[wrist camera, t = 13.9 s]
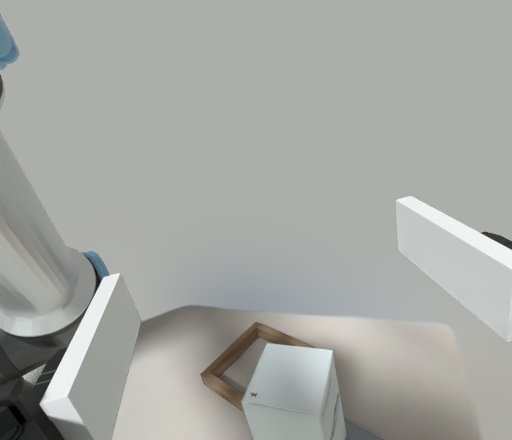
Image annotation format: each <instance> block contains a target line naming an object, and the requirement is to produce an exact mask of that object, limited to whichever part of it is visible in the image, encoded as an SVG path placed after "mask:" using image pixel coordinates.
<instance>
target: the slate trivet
mask: <svg viewBox="0 0 512 440" xmlns="http://www.w3.org/2000/svg"><path fill="white" fill-rule="evenodd" d="M344 422H345V428H346V438H345V440H381V439H380V438H378V437H376V436H374V435H372V434H371V433H369V432H367V431H365V430H363V429H362V428H360V427H358V426H356V425H354V424H353V423H351V422H349V421H347V420H346V419H344Z"/></svg>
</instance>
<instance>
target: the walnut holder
mask: <svg viewBox="0 0 512 440" xmlns="http://www.w3.org/2000/svg"><path fill="white" fill-rule="evenodd" d="M258 337H261V338H263V339H265V340H267V341H269V342H271V343H273V344H280V345H288V346H299V347H309V348H315V347H313V346H310V345H308V344H306V343H304V342H301V341H299V340H297V339H294V338H292V337H290V336H287V335H285V334H283V333H280V332H278V331H276V330H273V329H271V328H269V327H267V326H264V325H262V324H260V323H257V322H255V323H254V324H253V325H252V326H251V327H250V328H249V329H248V330H247V331H246V332H244V333H243V334H242V335H241V336H240V337H239V338H238V339H237V340H236V341H235V342H234V343H233V344H232V345H231V346H230V347H229V348H228V349H227V350H226V351H225V352H224V353H222V354H221V355H220V356H219V357H218V358H217V359H216V360H215V361H214V362H213V363H212V364H211V365H210V366H209V367H208V368H207V369H206V370H205V371H204V372H203V373H201V374H200V375H201V377H202V380H203V382H204V384H205V385H206V386H208V387H209V388H210V389H212V390H213V391H215V392H216V393H218V394H219V395H220V396H222V397H223V398H225V399H226V400H228V401H229V402H231V403H232V404H233V405H235V406H236V407H238V408H239V409H241V410H242V411H243V412H244V409H243V406H242V403H241V401H242V399H243V397H244V394H242V393H241V392H239V391H238V390H236V389H235V388H233V387H231V386H230V385H228V384H227V383H225V382H224V381H222V380H221V379H219V378H218V377H219V376H220V375H221V374H222V373H223V372H224V371H225V370H226V369H227V368H228V367H229V366H230V365H231V364H232V363H233V362H234V361H235V360H236V359H237V358H238V357H239V356H240V355H241V354H242V353H243V352H244V351H245V350H246V349H247V348H248V347H249V346H250V345H251V344H252V343H253V342H254V341H255V340H256V339H257V338H258Z"/></svg>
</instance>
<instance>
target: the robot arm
mask: <svg viewBox="0 0 512 440" xmlns="http://www.w3.org/2000/svg"><path fill="white" fill-rule="evenodd" d="M18 56H19V51H18V47H17V46H16V44H15V41H14V39H13V37H12V35H11V33H10V32H9V30H8V28H7V26H6V24H5V22H4V21H3V19H2V17H1V15H0V70H2V69H4V68H5V67H6V66H7V64H10V63H13V62H14V61H16V60H17V59H18ZM4 91H5V88H4V84H3V80H2V77H1V75H0V109H1V106H2V104H3V100H4V94H5V93H4ZM396 214H397V231H398V250H399V251H400V252H401V253H402V254H403V255H405V256H406V257H407V258H408V259H409V260H410V261H412V262H413V263H414V264H415V265H417V266H418V267H419V268H420V269H421V270H422V271H424V272H425V273H426V274H427V275H428V276H429V277H431V278H432V279H433V280H434V281H435V282H436V283H438V284H439V285H440V286H441V287H442V288H444V289H445V290H446V291H447V292H448V293H449V294H451V295H452V296H453V297H454V298H455V299H457V300H458V301H459V302H460V303H461V304H463V305H464V306H465V307H466V308H467V309H468V310H470V311H471V312H472V313H473V314H474V315H475V316H477V317H478V318H479V319H480V320H481V321H483V322H484V323H485V324H486V325H487V326H489V327H490V328H491V329H492V330H493V331H495V332H496V333H497V334H498V335H499V336H500V337H502V338H503V339H504V340H505V341H506V342H509V341H512V241H510V240H508V239H506V238H504V237H502V236H500V235H496V234H492V233H488V232H482V233H479V232H477V231H475V230H474V229H472V228H470V227H468V226H466V225H464V224H462V223H460V222H458V221H457V220H455V219H453V218H451V217H449V216H447V215H446V214H444V213H442V212H440V211H438V210H436V209H434V208H432V207H431V206H428V205H427V204H425V203H423V202H421V201H419V200H417V199H416V198H414V197H412V196H409V197H405V198H401V199H398V200H396ZM141 321H142V320H141V318H140V316H139V314H138V311H137V309H136V307H135V305H134V302H133V300H132V298H131V295H130V293H129V291H128V289H127V286H126V284H125V282H124V280H123V277H122V275H121V273H118V274H114V275H111V276H110V275H109V272H108V271H107V268H106V266H105V264H104V262H103V261H102V259H101V258H100V257H99V255H98V254H97V253H95V252H93V251H89V252H86V253H85V252H83V253H81V252H79V251H77V250H75V249H73V248H70V247H67V246H66V245H65V244H64V242H63V240H62V238H61V236H60V235H59V233H58V231H57V230H56V228H55V226H54V224H53V222H52V221H51V219H50V217H49V215H48V214H47V212H46V210H45V208H44V207H43V205H42V203H41V201H40V200H39V198H38V196H37V194H36V193H35V191H34V189H33V187H32V186H31V184H30V182H29V180H28V178H27V177H26V175H25V173H24V171H23V170H22V168H21V166H20V164H19V163H18V161H17V159H16V157H15V155H14V154H13V152H12V150H11V148H10V147H9V145H8V143H7V141H6V140H5V138H4V136H3V134H2V133H1V131H0V440H111V439H112V435H113V431H114V427H115V423H116V419H117V415H118V411H119V407H120V403H121V400H122V396H123V392H124V388H125V384H126V380H127V376H128V372H129V368H130V364H131V360H132V356H133V352H134V348H135V344H136V341H137V337H138V333H139V329H140V325H141ZM46 363H47V364H46ZM44 364H46V366H45V367H44V369H43V371H42V373H41V374H42V375H41V376H40V377H39V378H38V380H37V382H36V385H33V384H31V383H30V382H28V381H26V380H25V379H24V378H23V377H22V376H23V375H25V374H27V373H29V372H31V371H32V370H34V369H36V368H38V367H40V366H42V365H44Z"/></svg>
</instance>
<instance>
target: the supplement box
mask: <svg viewBox="0 0 512 440" xmlns="http://www.w3.org/2000/svg"><path fill="white" fill-rule="evenodd" d="M241 403H242V406H243V409H244V412H245V415H246V418H247V422H248V425H249V428H250V431H251V434H252V437H253V440H345V438H346V428H345V422H344V415H343V409H342V403H341V396H340V390H339V384H338V379H337V373H336V367H335V361H334V355H333V350H327V349H318V348H309V347H299V346H288V345H280V344H272V343H267V344H266V345H265V347H264V350H263V352H262V355H261V357H260V359H259V362H258V364H257V366H256V368H255V370H254V373H253V376H252V378H251V380H250V383H249V385H248V387H247V390H246V392H245V394H244V397H243V399H242V401H241Z"/></svg>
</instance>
